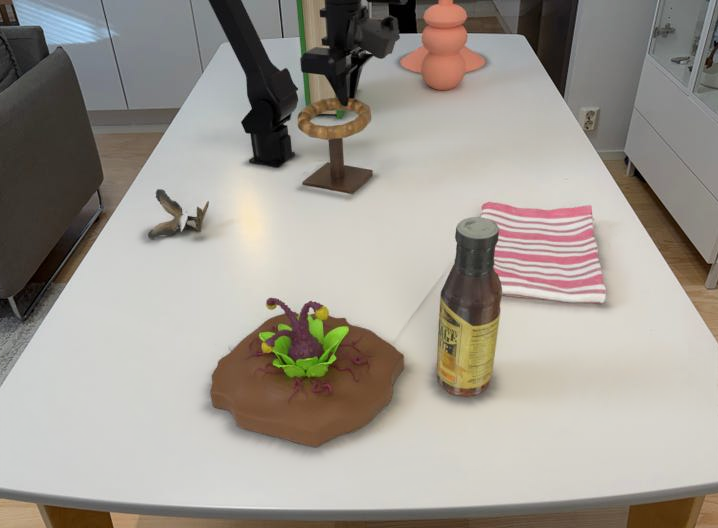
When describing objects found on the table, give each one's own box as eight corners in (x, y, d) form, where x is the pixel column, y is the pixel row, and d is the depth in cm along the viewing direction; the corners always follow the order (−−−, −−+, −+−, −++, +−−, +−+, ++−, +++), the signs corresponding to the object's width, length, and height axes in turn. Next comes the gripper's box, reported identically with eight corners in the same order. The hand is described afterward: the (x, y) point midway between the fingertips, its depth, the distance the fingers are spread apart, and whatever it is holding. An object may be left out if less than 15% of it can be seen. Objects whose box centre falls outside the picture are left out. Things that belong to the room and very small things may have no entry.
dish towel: (591, 222, 105) (595, 201, 103) (605, 309, 88) (610, 286, 86) (478, 216, 108) (480, 196, 106) (470, 299, 90) (472, 277, 88)
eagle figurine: (215, 214, 109) (161, 200, 110) (205, 190, 102) (147, 176, 103) (199, 256, 107) (144, 242, 107) (188, 236, 100) (129, 221, 101)
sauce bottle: (431, 366, 80) (437, 210, 67) (485, 361, 80) (500, 205, 68) (441, 404, 75) (449, 243, 62) (497, 399, 75) (517, 238, 63)
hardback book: (341, 118, 143) (333, -10, 128) (306, 117, 145) (295, -10, 130) (357, 90, 157) (352, -29, 142) (325, 90, 158) (317, -29, 143)
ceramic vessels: (402, 49, 181) (402, -32, 169) (483, 49, 180) (488, -33, 168) (395, 94, 154) (394, 1, 142) (490, 93, 153) (497, 0, 141)
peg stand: (302, 188, 118) (298, 141, 113) (327, 168, 124) (324, 123, 119) (349, 197, 115) (346, 149, 110) (372, 176, 121) (371, 130, 116)
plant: (331, 471, 68) (322, 385, 61) (185, 403, 76) (163, 321, 69) (427, 360, 81) (429, 279, 74) (293, 313, 89) (284, 236, 82)
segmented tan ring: (285, 135, 112) (283, 123, 110) (320, 103, 119) (319, 91, 117) (350, 146, 107) (349, 134, 106) (383, 112, 114) (382, 100, 113)
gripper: (362, 19, 96) (365, 129, 106) (415, -9, 109) (414, 92, 119) (294, 13, 100) (303, 119, 110) (353, -13, 113) (357, 84, 123)
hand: (347, 103), depth 115 cm, fingers closed on segmented tan ring, 2 cm apart
